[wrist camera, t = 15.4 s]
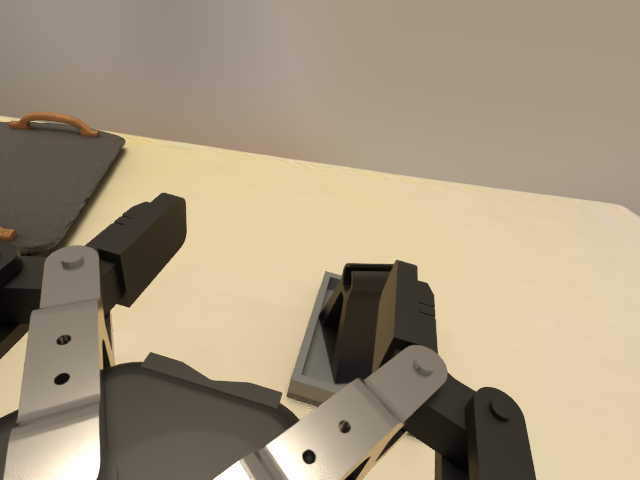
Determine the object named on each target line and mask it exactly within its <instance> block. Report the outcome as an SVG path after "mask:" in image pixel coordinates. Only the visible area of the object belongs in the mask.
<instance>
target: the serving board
mask: <svg viewBox="0 0 640 480" xmlns="http://www.w3.org/2000/svg"><path fill="white" fill-rule="evenodd" d="M34 120H47V121H56V122H62V123H66V124H70V125H64V124H53V123H37V122H30V121H34ZM124 144H125V139H124V138H122V137H120V136H117V135H114V134H110V133H106V132H103V131H99V130H95V129H91V128H89V127H88V126H87V125H86V124H85V123H83V122H82V121H80V120H79V119H77V118H74V117H72V116H68V115H63V114H58V113H50V112H32V113H29V114H27V115H25V116H24V117H23V118H22V119H21V120H20V121H11V122H0V240H1V241H8V242H11V243H13V244H14V245H15V246H16V247H17V248H18V251H19V254H20V255H21V254H26V253H29V255H30V256H37V257H48V256H49V255H50V252H51V251H50V249H52V248H54V247H56V246H57V245H58V244H59V243H60V242H61V240H62V239H63V237H64V236H65V234H66V232H67V231H68V229H69V228H70V226H71V225H72V224H73V223H74V221H75V219H76V218H77V216H78V214H79V213H80V211H81V209H82V208H83V207H85V204H86V202H87V200H88V199H89V198H90V196H91V194H92V193H93V192H94V190H95V189H96V186H97V185H98V184H99V183H100V181H101V179H102V178H103V177H104V175H105V173H106V172H107V171H108V169H109V167H110V166H111V164H112V163H113V161H114V159H115V158H116V156H117V155H118V153H119V152H120V150H121V149H122V147H123V146H124Z"/></svg>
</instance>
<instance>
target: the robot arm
mask: <svg viewBox="0 0 640 480" xmlns="http://www.w3.org/2000/svg"><path fill="white" fill-rule="evenodd" d="M186 233H187V228H186V202H185V199H184V198H181V197H178V196H174V195H171V194H167V193H161V194H160V195H159V196H158V197H156V198H155V199H154V200H153V201H152V202H151V203H149V202H143V203H141V204H138V205H136V206H133V207H131V208H130V209H129V210H128V211H127V212H125V213H124V214H123V215H122V217H119V218H118V219H117V220H116V221H114V223H112V224H111V225H109V226H108V227H107V228H106V229H105V230H103V231H102V232H101V233H100V234H98V235H97V236H96V237H95V238H94V239H92V240H91V241H90V242H89V243H87V244H86V245H85V246H78V245H77V246H68V247H64V248H61V249H59V250H57V251H55V252H53V253H52V254H50V255H49V256H48V257H37V256H20V254H19V251H18V248H17V247H16V246H15V245H14V244H13V243H11V242H8V241H1V240H0V359H1V358H2V357H3V356H4V355H5V354H6V353H7V352H8V351H9V350H10V349H11V348H12V347H13V346H14V345H15V344H16V343H17V342H18V341H19V340H20V339H21V338H22V337H23V336H24V335H25V334H26V333H27V332H28V331H29V333H28V341H27V348H26V356H25V364H24V372H23V380H22V387H21V395H20V403H19V409H18V410H16V411H14V412H12V413H10V414H8V415H6V416H4V417H1V418H0V480H362V479H363V478H364V477H365V476H366V475H367V473H368V472H369V471H370V470H371V469H372V468H373V467H374V466H375V465H376V464H377V463H378V462H379V461H380V460H381V459H382V458H383V457H384V456H385V455H386V454H387V453H388V452H389V451H390V450H391V449H392V448H393V447H394V446H395V445H396V444H397V443H398V442H399V441H400V440H401V439H402V438H403V437H404V436H405V435H406V434H407V433H410V434H411V435H413V436H414V437H416V438H417V439H419V440H420V441H422V442H423V443H425V444H426V445H427V446H429V447H430V448H432V449H433V450H435V480H536V475H535V470H534V465H533V460H532V455H531V449H530V444H529V439H528V434H527V429H526V423H525V419H524V415H523V413H522V411H521V409H520V407H519V406H518V405H517V403H516V402H515V401H514V400H513V399H512V398H511V397H510V396H508V395H507V394H506V393H504V392H502V391H501V390H498V389H496V388H492V387H483V388H480V389H479V390H478V391H477V392H476V391H474V390H472V389H471V388H469V387H467V386H466V385H464V384H462V383H461V382H459V381H457V380H456V379H454V378H453V377H452V376H451V375H450V374H449V373H448V372H447V368H446V365H445V363H444V361H443V360H442V359H441V357H440V356H439V355H438V350H437V334H436V319H435V309H434V307H435V303H434V294H433V292H432V291H431V289H430V287H429V285H428V283H425V282H421V281H418V278H417V266H416V265H413V264H410V263H406V262H403V261H399V260H396V261H395V263H394V265H393V268H392V270H391V272H390V275H389V277H388V279H387V282H386V284H385V286H384V289H383V292H382V295H381V298H380V303H379V310H378V320H377V329H376V339H375V348H374V358H373V368H372V374H371V375H370V376H369V377H368V378H366V379H364V380H362V379H361V378H357V379H355V380H353V381H352V382H351V383H349V384H348V385H347V386H345V387H344V388H343V389H341V390H340V391H339V392H337V393H336V394H335V395H333V396H332V397H331V398H329V399H328V400H327V401H325V402H324V403H323V404H321V405H320V406H319V407H317V408H316V409H315V410H313V411H312V412H311V413H309V414H308V415H307V416H305V417H304V418H303V419H301V420H299V419H298V418H297V417H296V416H295V415H294V413H293V412H291V411H290V410H289V409H288V408H287V407H285V406H284V405H282V404H281V403H280V400H281V396H282V393H281V392H278V391H275V390H272V389H268V388H265V387H262V386H259V385H255V384H252V383H247V382H229V381H214V380H210V379H208V378H207V377H205V376H204V375H202V374H201V373H199V372H197V371H196V370H194V369H193V368H191V367H190V366H188V365H186V364H185V363H183V362H181V361H178V360H174V359H171V358H168V357H165V356H161V355H158V354H155V353H152V352H150V353H149V355H148V356H147V358H146V359H145V361H144V362H130V363H124V364H119V365H115V359H114V344H113V329H112V314H111V309H112V308H113V307H114V306H115V305H116V304H119V305H122V306H126V307H130V306H131V305H132V304H133V303H134V302H135V300H136V299H137V298H138V297H139V296H140V295H141V293H142V292H143V291H144V290H145V289H146V288H147V286H148V285H149V284H150V283H151V282H152V281H153V279H154V278H155V277H156V276H157V275H158V274H159V272H160V271H161V270H162V269H163V268H164V267H165V265H166V264H167V263H168V262H169V261H170V260H171V258H172V257H173V256H174V255H175V254H176V253H177V251H178V250H179V249H180V248H181V247H182V245H183V243H184V241H185V238H186Z"/></svg>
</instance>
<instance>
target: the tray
mask: <svg viewBox="0 0 640 480" xmlns="http://www.w3.org/2000/svg"><path fill="white" fill-rule="evenodd" d="M341 277H342V276H341V275H337V274H334V273H330V272H327V271H325V274H324V277H323V281H322V284H321V287H320V290H319V293H318V296H317V299H316V302H315V306H314V309H313V312H312V315H311V318H310V321H309V324H308V327H307V330H306V334H305V337H304V340H303V343H302V346H301V349H300V352H299V355H298V359H297V362H296V365H295V368H294V371H293V374H292V377H291V381H290V385H289V389H288V393H287V397H290V398H293V399H296V400H299V401H303V402H306V403H309V404H312V405H315V406H320V405H321V404H323V403H324V402H325V401H327V400H328V399H329V398H331V397H332V396H333V395H335V394H336V393H337V392H339V391H340V390H341V389H343V388H344V387H345V386H347V385H348V384H349V383H351V382H343V383H334V380H333V376H332V372H331V367H330V363H329V359H328V355H327V350H326V346H325V342H324V337H323V333H322V329H321V324H320V320H319V315H320V313H321V311H322V310H323V308H324V307H325V305H326V303H327V302H328V300H329V298H330V297H331V295H332V294H333V292H334V290H335V289H336V287H337V286H338V284H339V282H340V280H341ZM407 434H408V435H411V434H410V433H407ZM411 436H413V435H411Z"/></svg>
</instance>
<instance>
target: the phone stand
mask: <svg viewBox="0 0 640 480" xmlns="http://www.w3.org/2000/svg"><path fill="white" fill-rule="evenodd" d="M393 265H394V264H358V263H347V264H346V265H345V266H344V269H343V274H342V277H341V280H340V282H339V284H338V286H337V287H336V289H335V290H334V292H333V294H332V295H331V297H330V298H329V300H328V302H327V303H326V305H325V307H324V308H323V310H322V311H321V313H320V315H319V320H320V324H321V329H322V333H323V337H324V342H325V346H326V350H327V355H328V359H329V363H330V367H331V372H332V376H333V380H334V383H343V382H352V381H353V380H355V379H357V378H361V379H362V380H364V379H366V378H368V377H369V376H370V375H371V374H372V368H373V358H374V348H375V339H376V329H377V320H378V310H379V303H380V298H381V295H382V292H383V289H384V286H385V284H386V282H387V279H388V277H389V275H390V272H391V270H392V268H393Z"/></svg>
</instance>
